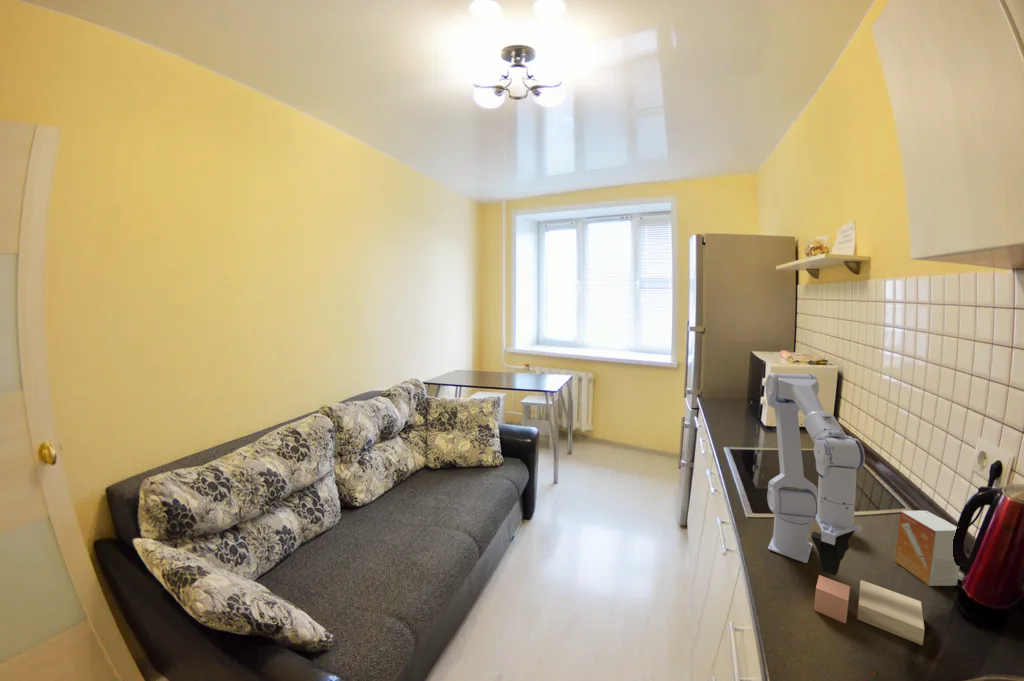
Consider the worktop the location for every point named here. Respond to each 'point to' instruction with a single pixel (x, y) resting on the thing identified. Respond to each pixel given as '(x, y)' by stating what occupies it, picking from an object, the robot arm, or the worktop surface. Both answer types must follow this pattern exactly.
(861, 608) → the birch base block
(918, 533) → the small box
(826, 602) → the terracotta cube
